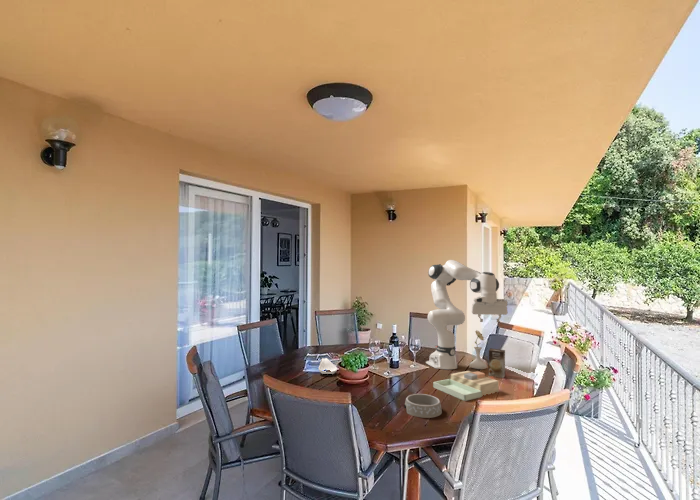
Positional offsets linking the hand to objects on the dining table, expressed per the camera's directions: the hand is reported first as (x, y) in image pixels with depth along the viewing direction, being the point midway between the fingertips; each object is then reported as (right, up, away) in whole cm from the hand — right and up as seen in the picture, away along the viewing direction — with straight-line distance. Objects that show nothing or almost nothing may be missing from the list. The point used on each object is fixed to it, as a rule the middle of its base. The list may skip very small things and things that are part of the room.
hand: (489, 322), depth 226 cm
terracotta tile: (-11, -29, -12) cm, 33 cm away
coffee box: (+8, -36, +10) cm, 38 cm away
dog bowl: (-49, -34, -46) cm, 75 cm away
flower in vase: (+2, -36, +27) cm, 45 cm away
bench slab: (-14, -35, -14) cm, 40 cm away
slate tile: (-16, -29, -15) cm, 36 cm away
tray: (-26, -35, -20) cm, 48 cm away
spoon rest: (-100, -36, +18) cm, 108 cm away
